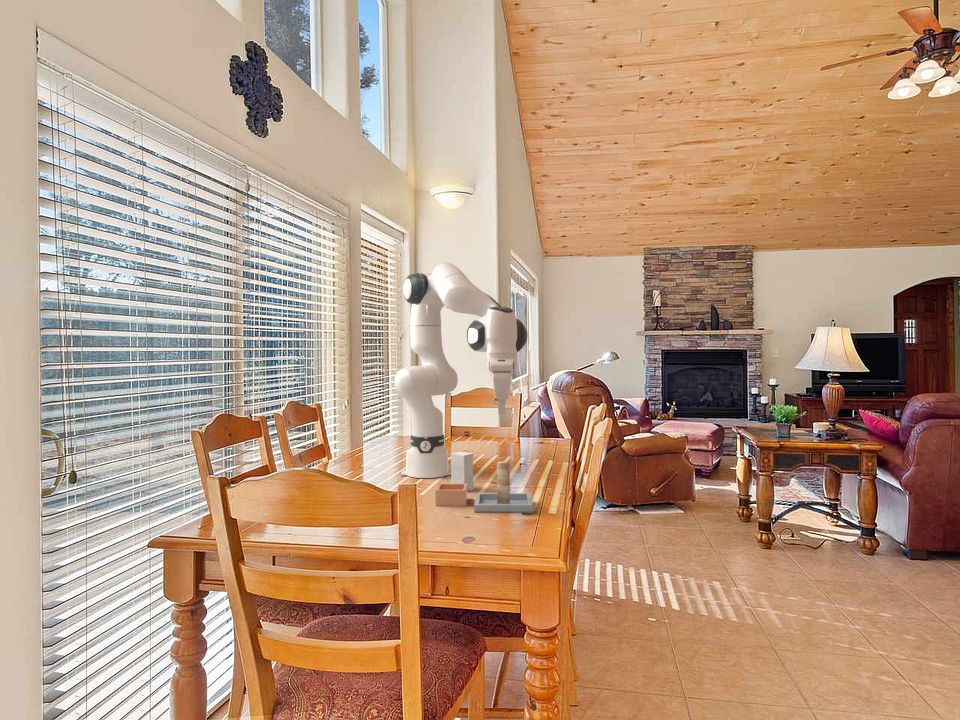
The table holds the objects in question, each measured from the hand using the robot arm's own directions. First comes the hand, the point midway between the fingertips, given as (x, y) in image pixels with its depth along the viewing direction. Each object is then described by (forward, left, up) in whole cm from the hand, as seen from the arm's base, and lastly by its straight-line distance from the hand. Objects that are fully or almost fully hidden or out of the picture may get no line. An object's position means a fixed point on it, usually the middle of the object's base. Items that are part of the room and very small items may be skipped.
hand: (501, 412), depth 179 cm
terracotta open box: (-4, -15, -27) cm, 31 cm away
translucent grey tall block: (0, 0, -26) cm, 26 cm away
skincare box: (-20, -13, -27) cm, 36 cm away
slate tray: (0, 0, -27) cm, 27 cm away
